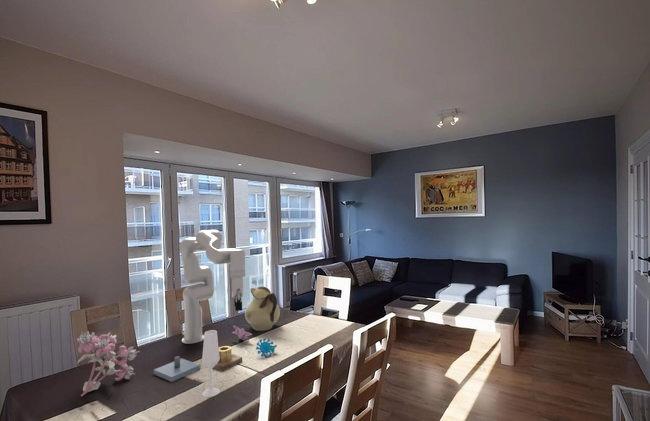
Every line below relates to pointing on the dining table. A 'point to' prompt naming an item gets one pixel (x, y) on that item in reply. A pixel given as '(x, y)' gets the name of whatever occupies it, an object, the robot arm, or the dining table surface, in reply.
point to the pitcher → (262, 309)
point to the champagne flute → (210, 359)
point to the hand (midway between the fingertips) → (238, 308)
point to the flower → (107, 348)
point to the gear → (265, 347)
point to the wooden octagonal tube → (224, 353)
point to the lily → (241, 333)
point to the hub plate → (176, 369)
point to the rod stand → (228, 363)
